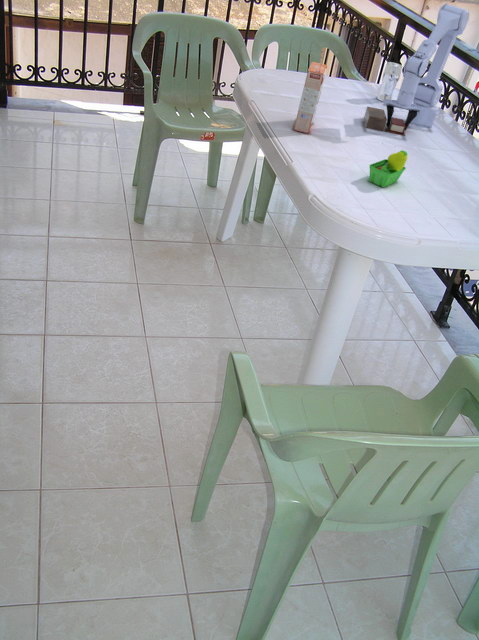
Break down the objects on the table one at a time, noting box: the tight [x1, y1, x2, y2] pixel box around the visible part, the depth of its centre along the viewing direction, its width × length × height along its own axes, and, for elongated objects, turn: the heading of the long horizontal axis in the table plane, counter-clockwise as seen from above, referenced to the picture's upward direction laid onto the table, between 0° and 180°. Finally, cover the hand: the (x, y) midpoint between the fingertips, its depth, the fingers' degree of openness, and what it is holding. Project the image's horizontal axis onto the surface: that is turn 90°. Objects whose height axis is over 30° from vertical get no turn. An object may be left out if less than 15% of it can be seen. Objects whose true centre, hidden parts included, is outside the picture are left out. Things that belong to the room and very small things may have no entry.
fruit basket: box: [369, 149, 408, 188], centre depth 208 cm, size 11×9×11 cm
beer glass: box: [377, 61, 403, 102], centre depth 288 cm, size 7×7×15 cm
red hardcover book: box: [389, 116, 406, 134], centre depth 254 cm, size 5×8×3 cm, turn 175°
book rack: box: [363, 106, 407, 137], centre depth 254 cm, size 15×12×6 cm
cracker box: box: [293, 61, 328, 135], centre depth 237 cm, size 14×6×21 cm, turn 168°
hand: (396, 127), depth 255 cm, fingers open, 6 cm apart
